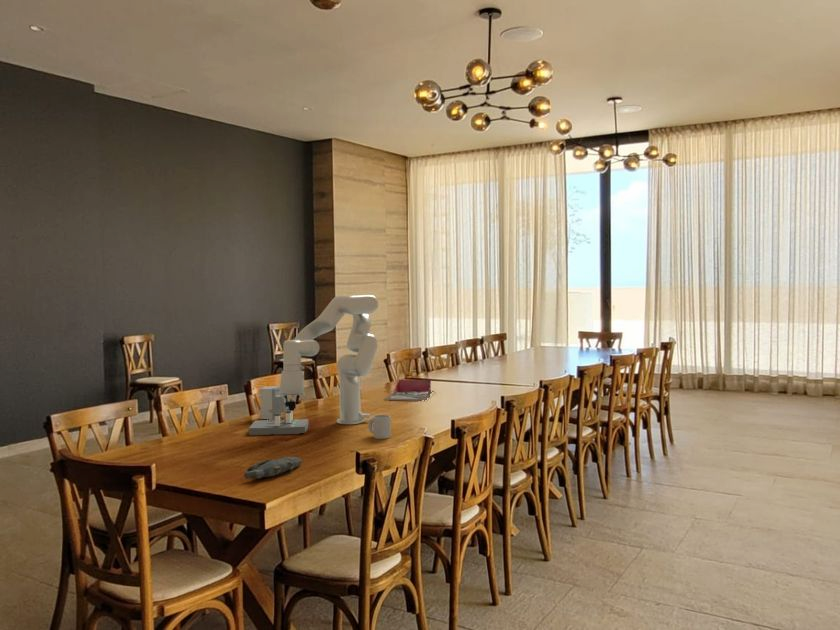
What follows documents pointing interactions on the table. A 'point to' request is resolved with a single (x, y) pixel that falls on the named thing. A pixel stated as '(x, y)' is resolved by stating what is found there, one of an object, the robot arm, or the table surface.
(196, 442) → the table surface
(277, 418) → the lever
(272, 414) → the circuit breaker
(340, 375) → the robot arm
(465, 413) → the table surface
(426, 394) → the open laptop
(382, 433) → the cup
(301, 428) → the switch panel
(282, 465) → the grey rough slab
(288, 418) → the middle lever
